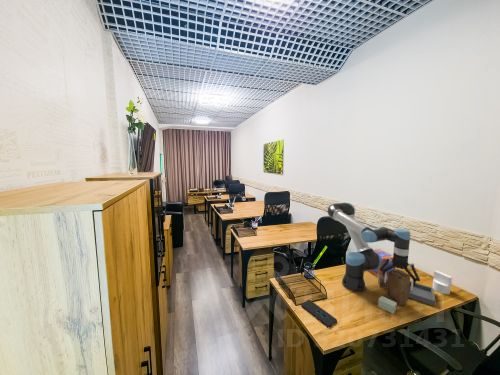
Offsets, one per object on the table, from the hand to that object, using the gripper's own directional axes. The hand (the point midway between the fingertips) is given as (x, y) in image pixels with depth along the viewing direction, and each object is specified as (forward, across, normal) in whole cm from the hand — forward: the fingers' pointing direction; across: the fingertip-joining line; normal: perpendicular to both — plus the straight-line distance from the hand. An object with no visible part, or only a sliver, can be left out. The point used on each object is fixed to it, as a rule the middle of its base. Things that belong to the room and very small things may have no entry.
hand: (397, 285), depth 127 cm
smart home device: (+11, -36, -43) cm, 57 cm away
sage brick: (+11, -4, -12) cm, 16 cm away
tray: (+10, +12, +17) cm, 23 cm away
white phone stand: (+11, +24, +33) cm, 42 cm away
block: (+11, 0, 0) cm, 11 cm away
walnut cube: (+10, -8, +14) cm, 19 cm away
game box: (+10, -13, +33) cm, 37 cm away
